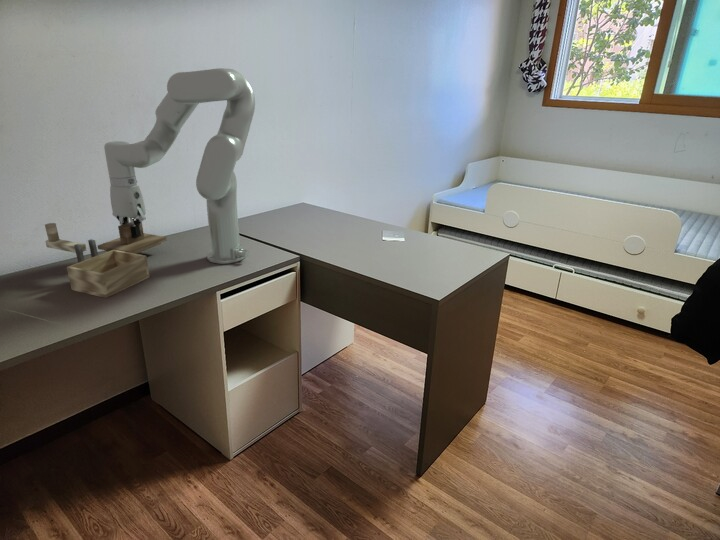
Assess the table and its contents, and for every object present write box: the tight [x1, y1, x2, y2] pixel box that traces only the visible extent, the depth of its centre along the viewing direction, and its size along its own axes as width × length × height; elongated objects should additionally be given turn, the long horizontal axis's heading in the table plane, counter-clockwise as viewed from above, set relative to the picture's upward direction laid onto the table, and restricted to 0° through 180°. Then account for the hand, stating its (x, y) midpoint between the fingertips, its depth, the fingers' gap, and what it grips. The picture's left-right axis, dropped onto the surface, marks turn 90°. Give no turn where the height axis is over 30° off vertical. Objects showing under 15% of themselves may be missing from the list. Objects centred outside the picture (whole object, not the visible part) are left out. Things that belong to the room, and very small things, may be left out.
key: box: [44, 222, 87, 254], centre depth 139 cm, size 13×3×7 cm, turn 69°
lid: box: [97, 221, 167, 254], centre depth 156 cm, size 13×16×8 cm
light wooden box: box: [66, 239, 150, 299], centre depth 136 cm, size 15×16×12 cm
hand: (132, 235), depth 156 cm, fingers closed on lid, 3 cm apart
